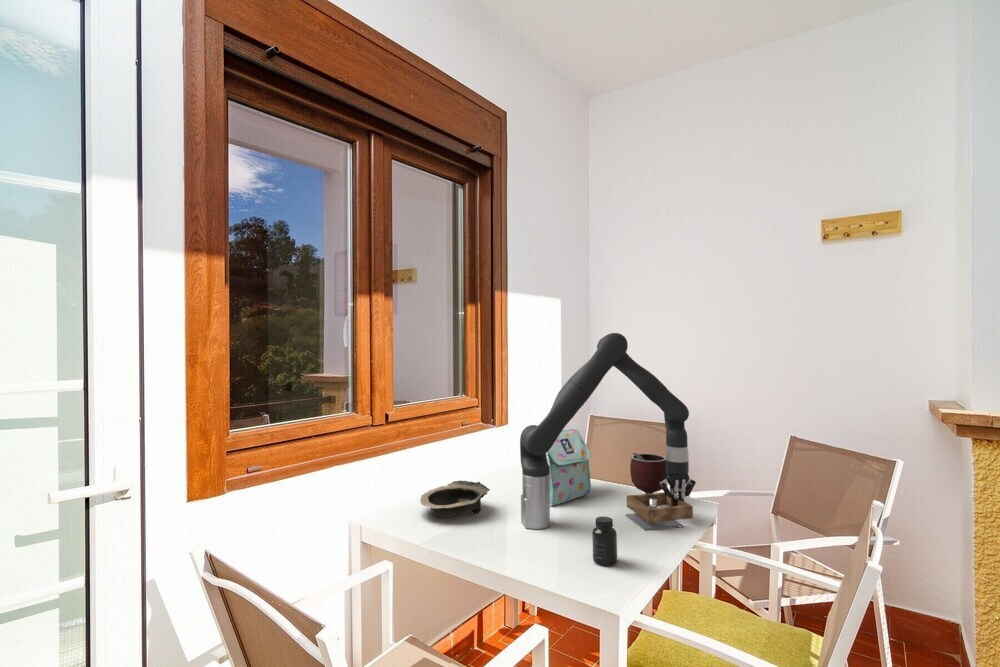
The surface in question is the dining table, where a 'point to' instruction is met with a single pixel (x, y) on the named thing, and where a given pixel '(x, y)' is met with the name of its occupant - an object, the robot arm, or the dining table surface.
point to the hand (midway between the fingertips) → (677, 508)
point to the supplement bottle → (604, 542)
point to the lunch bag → (568, 467)
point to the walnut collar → (659, 514)
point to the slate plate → (652, 525)
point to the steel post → (652, 503)
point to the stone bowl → (455, 498)
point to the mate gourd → (648, 472)
